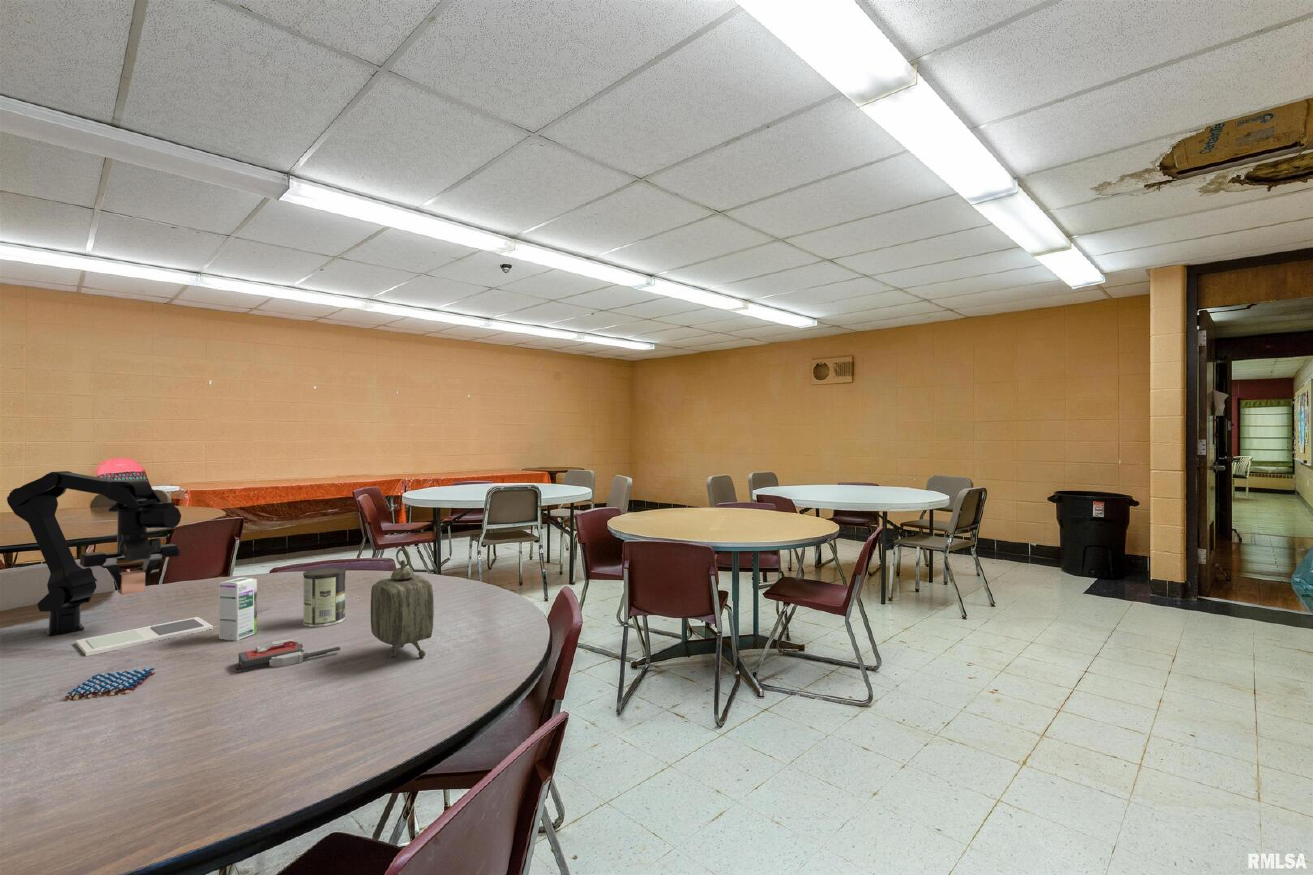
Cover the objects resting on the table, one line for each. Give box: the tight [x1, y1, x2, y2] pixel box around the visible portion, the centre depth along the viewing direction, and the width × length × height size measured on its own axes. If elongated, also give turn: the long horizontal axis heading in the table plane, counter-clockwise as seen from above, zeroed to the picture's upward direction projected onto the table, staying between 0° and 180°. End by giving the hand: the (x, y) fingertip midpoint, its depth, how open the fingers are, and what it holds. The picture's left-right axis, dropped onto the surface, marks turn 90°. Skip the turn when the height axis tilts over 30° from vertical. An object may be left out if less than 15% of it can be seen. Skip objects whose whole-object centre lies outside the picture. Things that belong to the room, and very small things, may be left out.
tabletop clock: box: [370, 547, 435, 658], centre depth 134 cm, size 14×9×25 cm, turn 47°
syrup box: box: [218, 576, 258, 642], centre depth 145 cm, size 6×6×14 cm
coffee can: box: [302, 566, 347, 628], centre depth 158 cm, size 10×10×14 cm
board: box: [75, 616, 214, 657], centre depth 145 cm, size 13×24×1 cm, turn 143°
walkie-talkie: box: [235, 638, 341, 673], centre depth 131 cm, size 9×4×20 cm
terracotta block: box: [117, 569, 146, 596], centre depth 149 cm, size 4×4×5 cm
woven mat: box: [64, 667, 156, 702], centre depth 116 cm, size 10×11×2 cm
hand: (131, 587), depth 149 cm, fingers closed on terracotta block, 4 cm apart
